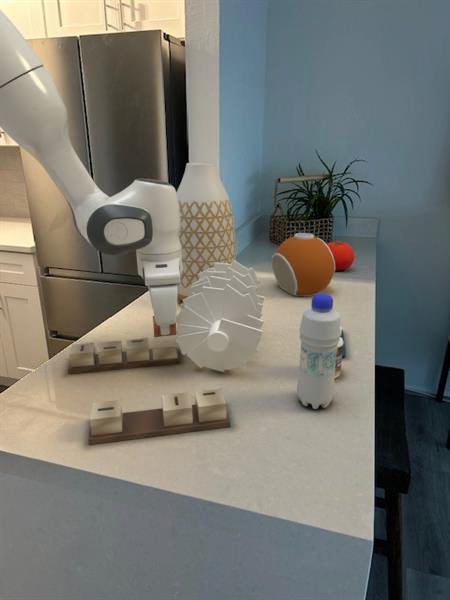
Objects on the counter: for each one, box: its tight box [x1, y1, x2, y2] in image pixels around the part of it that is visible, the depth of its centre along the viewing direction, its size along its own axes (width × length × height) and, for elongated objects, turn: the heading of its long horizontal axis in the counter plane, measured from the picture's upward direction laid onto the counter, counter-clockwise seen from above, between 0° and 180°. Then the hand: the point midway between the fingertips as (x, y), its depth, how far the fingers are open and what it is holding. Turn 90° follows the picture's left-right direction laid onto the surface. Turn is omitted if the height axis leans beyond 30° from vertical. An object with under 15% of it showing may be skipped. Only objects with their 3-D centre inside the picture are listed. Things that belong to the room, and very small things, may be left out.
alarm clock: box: [271, 232, 336, 297], centre depth 131 cm, size 19×18×17 cm
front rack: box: [87, 388, 231, 446], centre depth 69 cm, size 22×6×4 cm, turn 101°
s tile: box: [152, 315, 177, 338], centre depth 89 cm, size 4×4×3 cm
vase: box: [176, 162, 237, 301], centre depth 120 cm, size 19×18×38 cm
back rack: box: [67, 337, 180, 375], centre depth 89 cm, size 22×6×4 cm, turn 101°
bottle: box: [296, 293, 341, 410], centre depth 72 cm, size 7×7×20 cm
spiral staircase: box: [175, 260, 266, 373], centre depth 92 cm, size 18×18×25 cm
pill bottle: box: [334, 325, 343, 379], centre depth 84 cm, size 6×6×10 cm
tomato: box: [326, 239, 355, 272], centre depth 153 cm, size 11×13×10 cm
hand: (164, 328), depth 89 cm, fingers closed on s tile, 4 cm apart
